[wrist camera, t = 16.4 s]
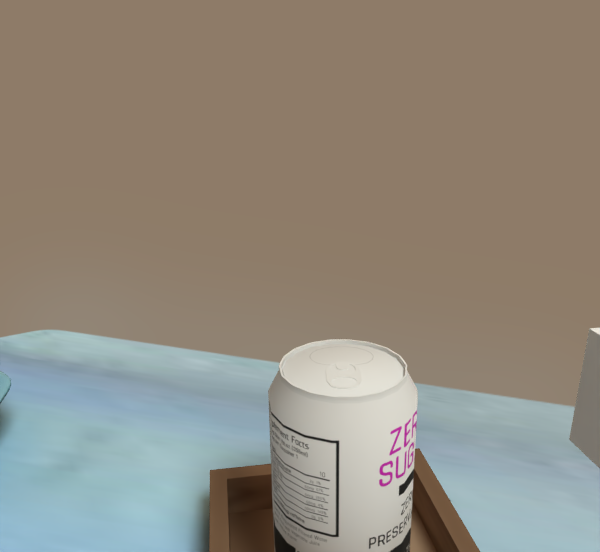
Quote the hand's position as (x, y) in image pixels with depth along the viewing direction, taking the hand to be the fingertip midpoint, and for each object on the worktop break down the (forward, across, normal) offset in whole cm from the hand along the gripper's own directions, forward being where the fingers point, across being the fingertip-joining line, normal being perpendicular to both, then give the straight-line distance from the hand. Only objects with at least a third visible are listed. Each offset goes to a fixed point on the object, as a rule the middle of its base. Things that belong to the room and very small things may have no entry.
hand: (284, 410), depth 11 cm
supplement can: (+17, +6, -24) cm, 29 cm away
